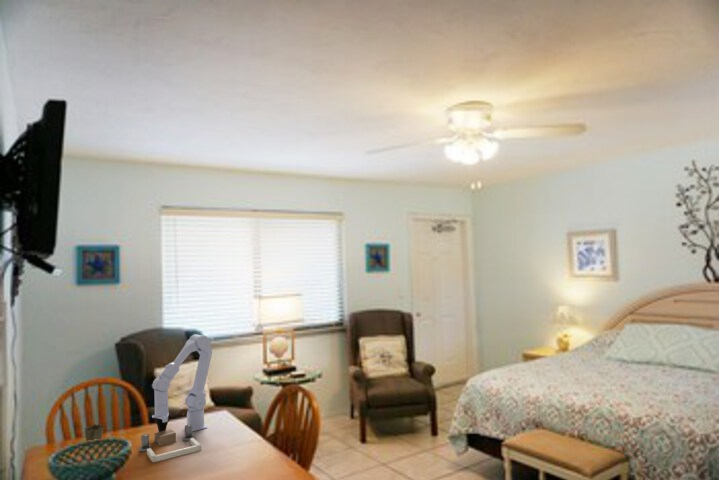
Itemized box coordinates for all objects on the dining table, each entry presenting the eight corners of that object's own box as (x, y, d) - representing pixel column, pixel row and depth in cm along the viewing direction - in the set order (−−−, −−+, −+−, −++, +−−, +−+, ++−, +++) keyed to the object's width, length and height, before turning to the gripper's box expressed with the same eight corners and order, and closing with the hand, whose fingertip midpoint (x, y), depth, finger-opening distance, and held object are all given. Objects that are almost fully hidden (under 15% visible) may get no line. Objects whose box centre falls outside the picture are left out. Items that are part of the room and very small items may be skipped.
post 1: (138, 449, 203) (137, 435, 203) (150, 446, 205) (150, 432, 206) (140, 452, 198) (139, 438, 199) (152, 449, 201) (152, 435, 202)
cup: (80, 447, 209) (80, 428, 209) (94, 441, 216) (94, 423, 216) (94, 448, 207) (93, 429, 207) (107, 442, 214) (107, 424, 214)
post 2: (181, 439, 213) (181, 425, 213) (192, 436, 216) (192, 422, 216) (184, 442, 209) (184, 428, 209) (196, 439, 212) (195, 425, 212)
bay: (146, 454, 197) (146, 449, 197) (193, 442, 208) (193, 437, 208) (152, 462, 187) (152, 457, 187) (201, 450, 198) (201, 445, 198)
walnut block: (154, 442, 211) (154, 433, 211) (170, 438, 216) (170, 429, 216) (159, 446, 206) (159, 436, 206) (176, 441, 210) (175, 432, 211)
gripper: (148, 402, 220) (149, 432, 219) (155, 409, 208) (156, 441, 207) (164, 399, 224) (165, 429, 223) (172, 406, 212) (173, 437, 211)
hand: (162, 434), depth 216 cm, fingers closed
